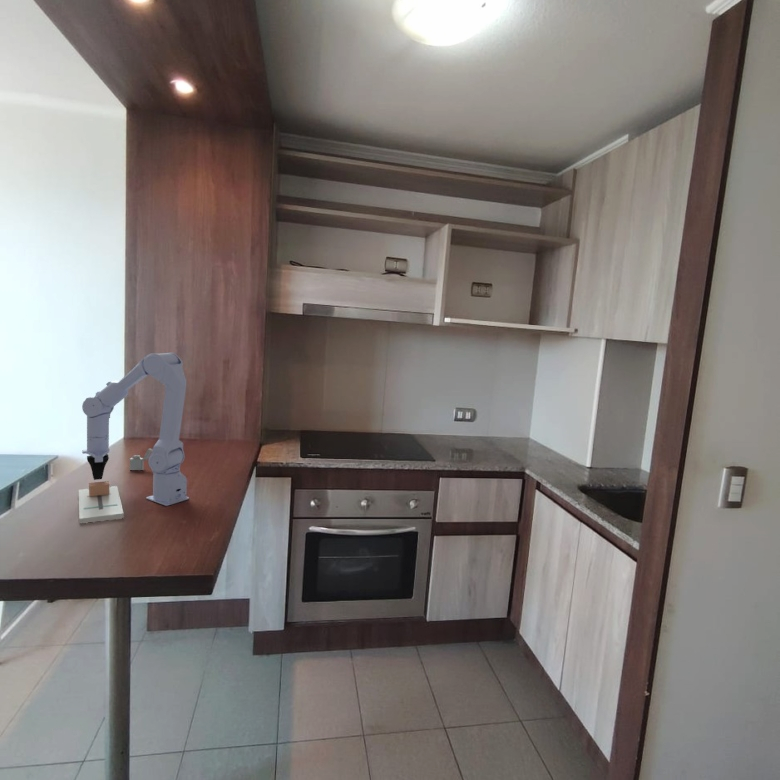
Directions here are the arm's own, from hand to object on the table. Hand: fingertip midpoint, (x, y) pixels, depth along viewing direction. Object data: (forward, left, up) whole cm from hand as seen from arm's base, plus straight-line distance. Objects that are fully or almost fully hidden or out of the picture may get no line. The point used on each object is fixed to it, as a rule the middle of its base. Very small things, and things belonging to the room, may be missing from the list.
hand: (97, 478), depth 149 cm
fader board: (-13, +7, -4) cm, 15 cm away
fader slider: (-8, +4, -2) cm, 9 cm away
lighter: (+9, -20, -4) cm, 23 cm away
